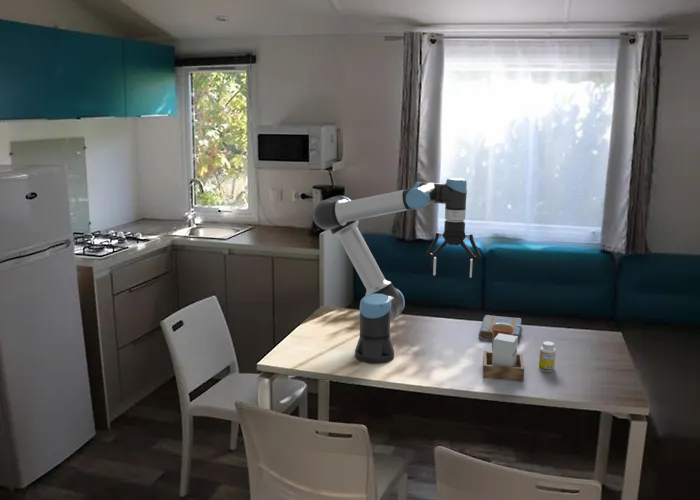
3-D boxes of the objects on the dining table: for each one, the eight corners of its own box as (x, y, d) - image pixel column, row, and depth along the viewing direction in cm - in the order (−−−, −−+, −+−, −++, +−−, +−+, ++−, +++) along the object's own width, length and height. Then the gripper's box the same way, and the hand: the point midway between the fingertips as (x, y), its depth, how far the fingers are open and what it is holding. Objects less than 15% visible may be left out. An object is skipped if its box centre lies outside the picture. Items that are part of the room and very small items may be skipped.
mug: (489, 347, 265) (491, 323, 262) (512, 349, 263) (513, 324, 261) (489, 358, 253) (491, 333, 251) (513, 360, 252) (515, 335, 249)
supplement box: (511, 375, 236) (513, 342, 233) (490, 371, 239) (492, 338, 236) (516, 368, 242) (518, 336, 239) (496, 364, 246) (498, 332, 243)
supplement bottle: (543, 365, 248) (545, 339, 245) (557, 369, 244) (559, 343, 241) (535, 369, 244) (537, 343, 242) (549, 373, 240) (551, 347, 238)
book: (483, 323, 294) (484, 313, 293) (521, 327, 289) (522, 316, 288) (478, 339, 274) (479, 328, 273) (519, 344, 270) (520, 332, 269)
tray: (483, 378, 236) (483, 365, 235) (482, 363, 249) (483, 351, 248) (523, 381, 233) (524, 368, 232) (521, 366, 246) (522, 354, 245)
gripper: (420, 220, 244) (418, 276, 249) (489, 223, 239) (486, 280, 244) (422, 217, 251) (420, 271, 256) (489, 219, 246) (486, 275, 251)
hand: (452, 275), depth 250 cm, fingers open, 13 cm apart
